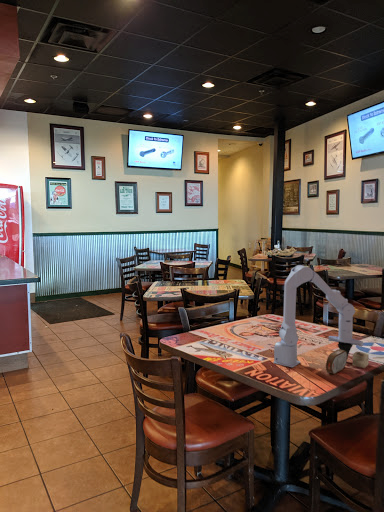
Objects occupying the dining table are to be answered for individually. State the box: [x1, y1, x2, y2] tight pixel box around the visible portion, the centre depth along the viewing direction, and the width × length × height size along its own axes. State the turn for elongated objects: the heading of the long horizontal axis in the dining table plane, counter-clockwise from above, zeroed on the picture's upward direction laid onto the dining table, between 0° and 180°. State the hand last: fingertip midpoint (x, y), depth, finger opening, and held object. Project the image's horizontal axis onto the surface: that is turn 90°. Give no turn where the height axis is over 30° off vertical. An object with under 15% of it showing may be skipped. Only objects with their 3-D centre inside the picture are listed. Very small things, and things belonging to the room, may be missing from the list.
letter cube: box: [352, 351, 370, 369], centre depth 168 cm, size 5×5×5 cm
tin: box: [325, 348, 348, 375], centre depth 162 cm, size 15×3×8 cm, turn 135°
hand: (345, 359), depth 173 cm, fingers closed
